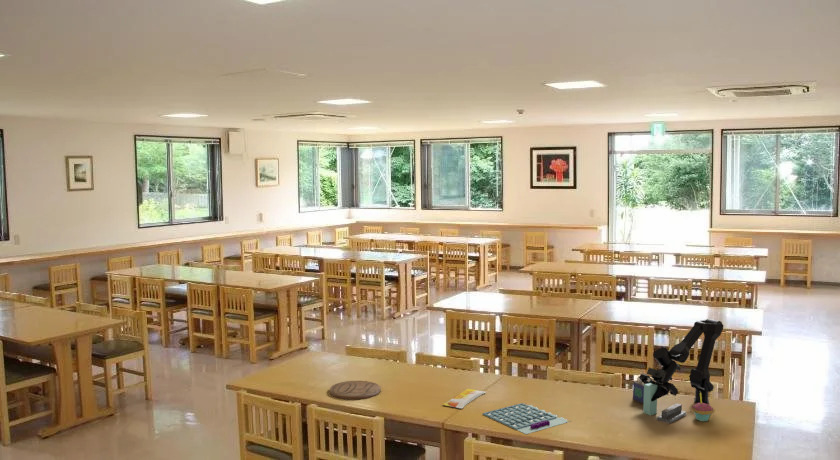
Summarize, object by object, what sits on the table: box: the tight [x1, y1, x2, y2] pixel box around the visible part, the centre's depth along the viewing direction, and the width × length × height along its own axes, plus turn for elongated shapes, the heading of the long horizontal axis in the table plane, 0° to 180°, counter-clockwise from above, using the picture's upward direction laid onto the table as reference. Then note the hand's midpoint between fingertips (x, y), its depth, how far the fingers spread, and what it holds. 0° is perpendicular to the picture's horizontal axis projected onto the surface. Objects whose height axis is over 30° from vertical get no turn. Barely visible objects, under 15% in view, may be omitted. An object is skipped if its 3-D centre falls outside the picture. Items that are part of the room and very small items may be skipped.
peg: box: [642, 383, 658, 416], centre depth 315 cm, size 4×4×13 cm
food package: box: [442, 388, 487, 409], centre depth 335 cm, size 27×2×10 cm
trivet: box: [329, 380, 382, 401], centre depth 347 cm, size 25×25×2 cm
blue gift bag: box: [632, 379, 644, 405], centre depth 331 cm, size 9×3×11 cm, turn 25°
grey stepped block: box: [656, 403, 687, 425], centre depth 310 cm, size 15×6×4 cm, turn 134°
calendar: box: [482, 402, 572, 435], centre depth 310 cm, size 27×28×2 cm
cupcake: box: [692, 392, 715, 422], centre depth 308 cm, size 9×8×12 cm
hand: (648, 399), depth 315 cm, fingers closed on peg, 4 cm apart
